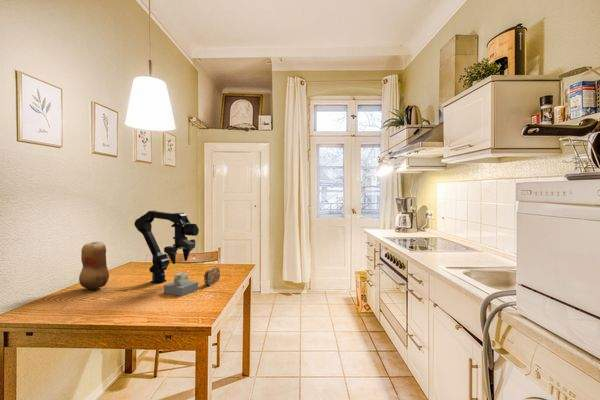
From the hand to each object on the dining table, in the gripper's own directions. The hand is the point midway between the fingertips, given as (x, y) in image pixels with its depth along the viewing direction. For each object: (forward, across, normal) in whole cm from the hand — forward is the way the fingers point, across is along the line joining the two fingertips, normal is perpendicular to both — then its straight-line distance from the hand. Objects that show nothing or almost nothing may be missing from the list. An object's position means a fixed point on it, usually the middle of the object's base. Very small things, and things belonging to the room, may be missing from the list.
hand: (180, 262), depth 188 cm
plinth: (+12, -11, -11) cm, 20 cm away
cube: (+8, -11, -11) cm, 17 cm away
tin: (+12, +8, -16) cm, 22 cm away
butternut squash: (+12, -27, +33) cm, 44 cm away
